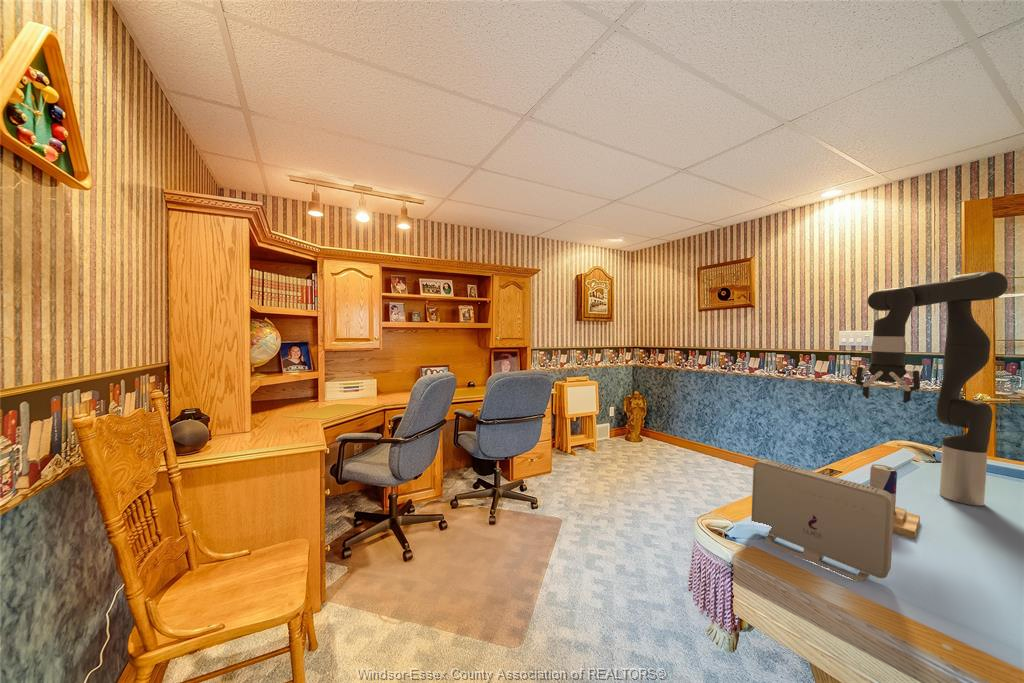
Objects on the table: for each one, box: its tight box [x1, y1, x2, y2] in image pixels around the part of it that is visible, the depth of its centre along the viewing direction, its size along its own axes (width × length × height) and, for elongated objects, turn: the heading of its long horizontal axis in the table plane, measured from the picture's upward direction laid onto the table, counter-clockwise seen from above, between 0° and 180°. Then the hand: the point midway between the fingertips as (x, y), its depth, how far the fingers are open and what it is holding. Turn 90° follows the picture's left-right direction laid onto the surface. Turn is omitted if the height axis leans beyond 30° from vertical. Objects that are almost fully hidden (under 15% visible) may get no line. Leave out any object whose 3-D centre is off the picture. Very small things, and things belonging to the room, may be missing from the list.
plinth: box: [893, 506, 921, 540], centre depth 104 cm, size 14×14×4 cm
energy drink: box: [869, 463, 898, 511], centre depth 104 cm, size 5×5×12 cm
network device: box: [750, 458, 894, 582], centre depth 87 cm, size 26×9×20 cm, turn 36°
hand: (885, 400), depth 115 cm, fingers open, 8 cm apart
